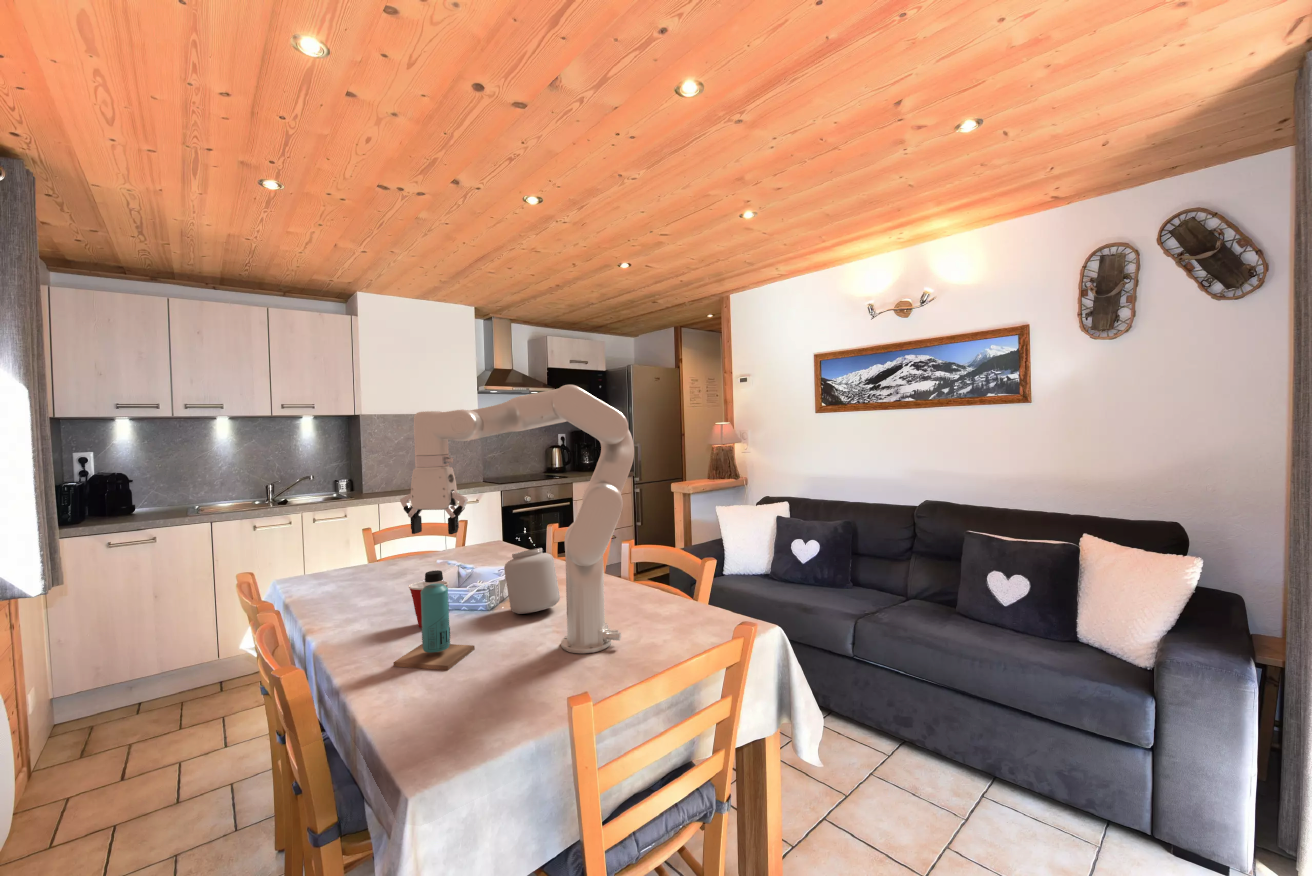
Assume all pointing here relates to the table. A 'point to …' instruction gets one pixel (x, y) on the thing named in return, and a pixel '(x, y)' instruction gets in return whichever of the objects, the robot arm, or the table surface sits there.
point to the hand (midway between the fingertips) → (434, 533)
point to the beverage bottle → (435, 614)
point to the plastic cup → (416, 596)
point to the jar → (531, 581)
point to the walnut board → (434, 657)
